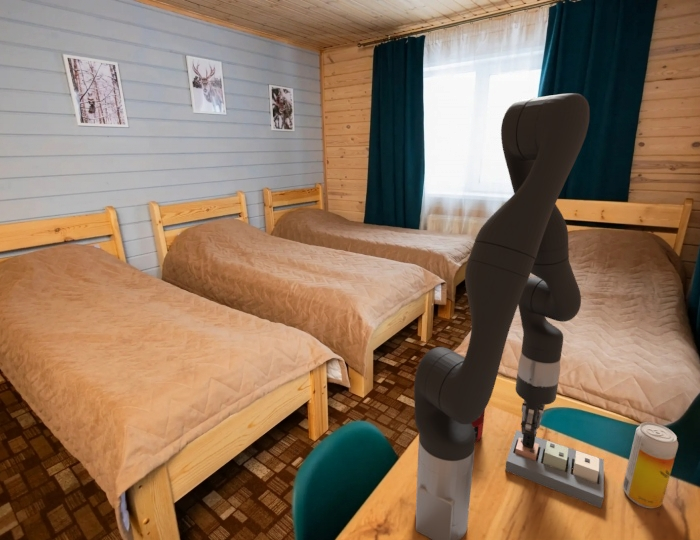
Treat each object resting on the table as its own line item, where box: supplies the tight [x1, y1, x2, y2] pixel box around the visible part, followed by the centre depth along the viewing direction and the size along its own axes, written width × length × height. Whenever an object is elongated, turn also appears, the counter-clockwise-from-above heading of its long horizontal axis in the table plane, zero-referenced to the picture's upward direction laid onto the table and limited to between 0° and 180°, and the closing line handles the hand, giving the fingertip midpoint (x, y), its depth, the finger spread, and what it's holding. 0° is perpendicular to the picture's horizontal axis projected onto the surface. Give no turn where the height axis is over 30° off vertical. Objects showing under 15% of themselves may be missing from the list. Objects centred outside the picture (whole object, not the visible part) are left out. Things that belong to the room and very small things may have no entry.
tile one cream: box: [572, 450, 600, 483], centre depth 76 cm, size 4×4×3 cm
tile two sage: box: [542, 440, 569, 472], centre depth 79 cm, size 4×4×3 cm
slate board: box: [505, 429, 605, 509], centre depth 79 cm, size 11×17×2 cm, turn 57°
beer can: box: [622, 421, 679, 509], centre depth 71 cm, size 6×6×15 cm
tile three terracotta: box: [515, 437, 539, 461], centre depth 82 cm, size 4×4×3 cm
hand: (528, 445), depth 82 cm, fingers closed
